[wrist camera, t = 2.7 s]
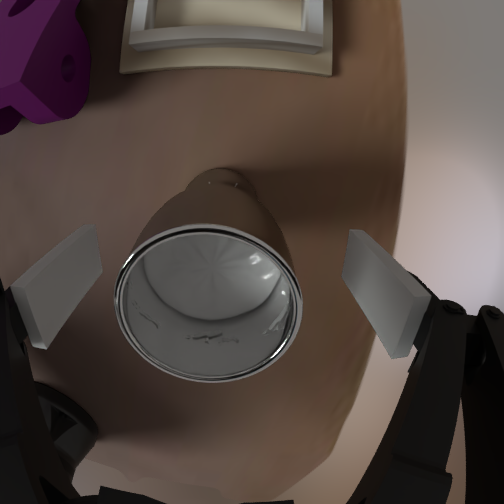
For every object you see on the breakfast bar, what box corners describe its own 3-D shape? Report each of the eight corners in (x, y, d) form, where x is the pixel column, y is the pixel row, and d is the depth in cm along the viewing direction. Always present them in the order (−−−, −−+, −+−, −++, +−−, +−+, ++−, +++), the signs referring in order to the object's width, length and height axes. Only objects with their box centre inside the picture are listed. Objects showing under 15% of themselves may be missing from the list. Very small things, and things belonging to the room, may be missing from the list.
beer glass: (273, 232, 25) (323, 361, 11) (194, 256, 25) (161, 398, 11) (249, 151, 22) (281, 186, 8) (164, 179, 22) (74, 257, 9)
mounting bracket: (53, 13, 19) (-2, 151, 18) (26, -31, 10) (-61, 118, 9) (126, -7, 19) (77, 135, 18) (108, -62, 11) (19, 81, 10)
